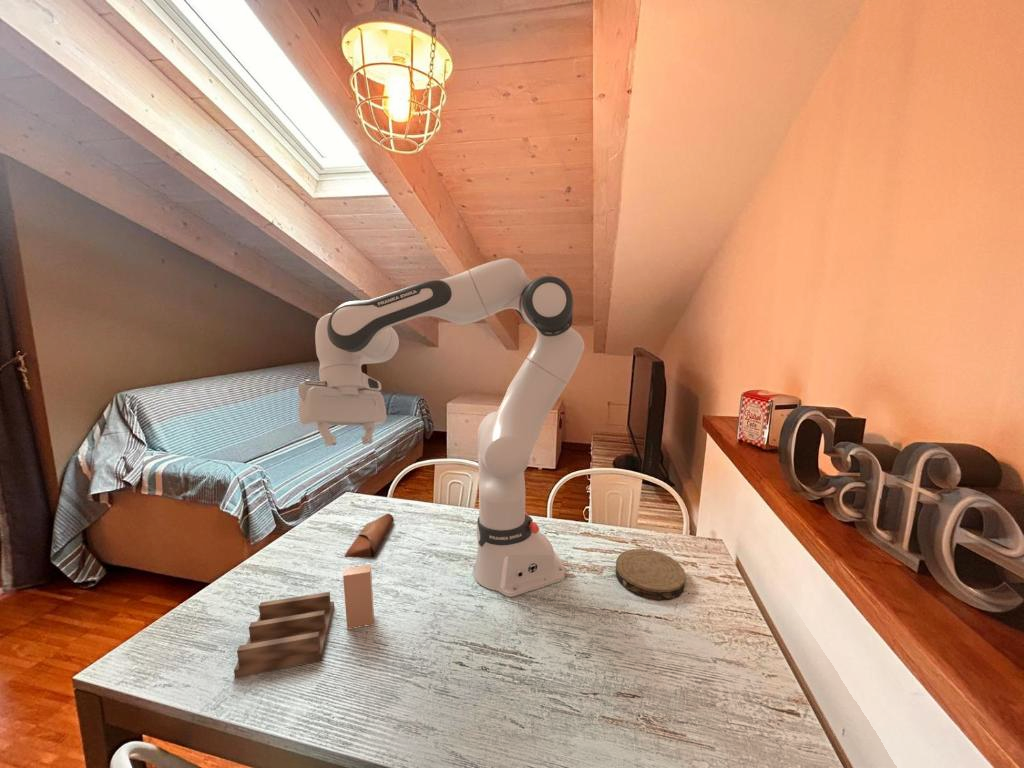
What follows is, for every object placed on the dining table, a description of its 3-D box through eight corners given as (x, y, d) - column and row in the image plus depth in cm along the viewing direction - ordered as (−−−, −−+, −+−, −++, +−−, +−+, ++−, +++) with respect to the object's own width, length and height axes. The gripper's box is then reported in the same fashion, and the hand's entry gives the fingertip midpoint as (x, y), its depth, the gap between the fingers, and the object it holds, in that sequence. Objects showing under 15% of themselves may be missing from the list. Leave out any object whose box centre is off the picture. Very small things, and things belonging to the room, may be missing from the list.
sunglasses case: (365, 522, 123) (376, 504, 122) (386, 533, 123) (397, 515, 122) (342, 558, 105) (354, 538, 104) (366, 570, 106) (378, 550, 105)
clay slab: (374, 616, 85) (370, 564, 83) (373, 624, 83) (369, 571, 81) (348, 620, 84) (344, 568, 82) (347, 629, 82) (343, 575, 80)
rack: (334, 607, 88) (332, 588, 87) (321, 660, 74) (319, 639, 73) (261, 619, 84) (259, 600, 83) (234, 677, 71) (231, 655, 70)
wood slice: (644, 552, 109) (645, 542, 108) (699, 585, 96) (700, 574, 95) (601, 572, 100) (602, 561, 100) (654, 612, 87) (655, 599, 87)
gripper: (307, 374, 80) (315, 442, 77) (386, 383, 98) (395, 439, 95) (288, 383, 83) (295, 450, 80) (368, 391, 100) (376, 446, 97)
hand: (350, 444), depth 87 cm, fingers open, 8 cm apart
